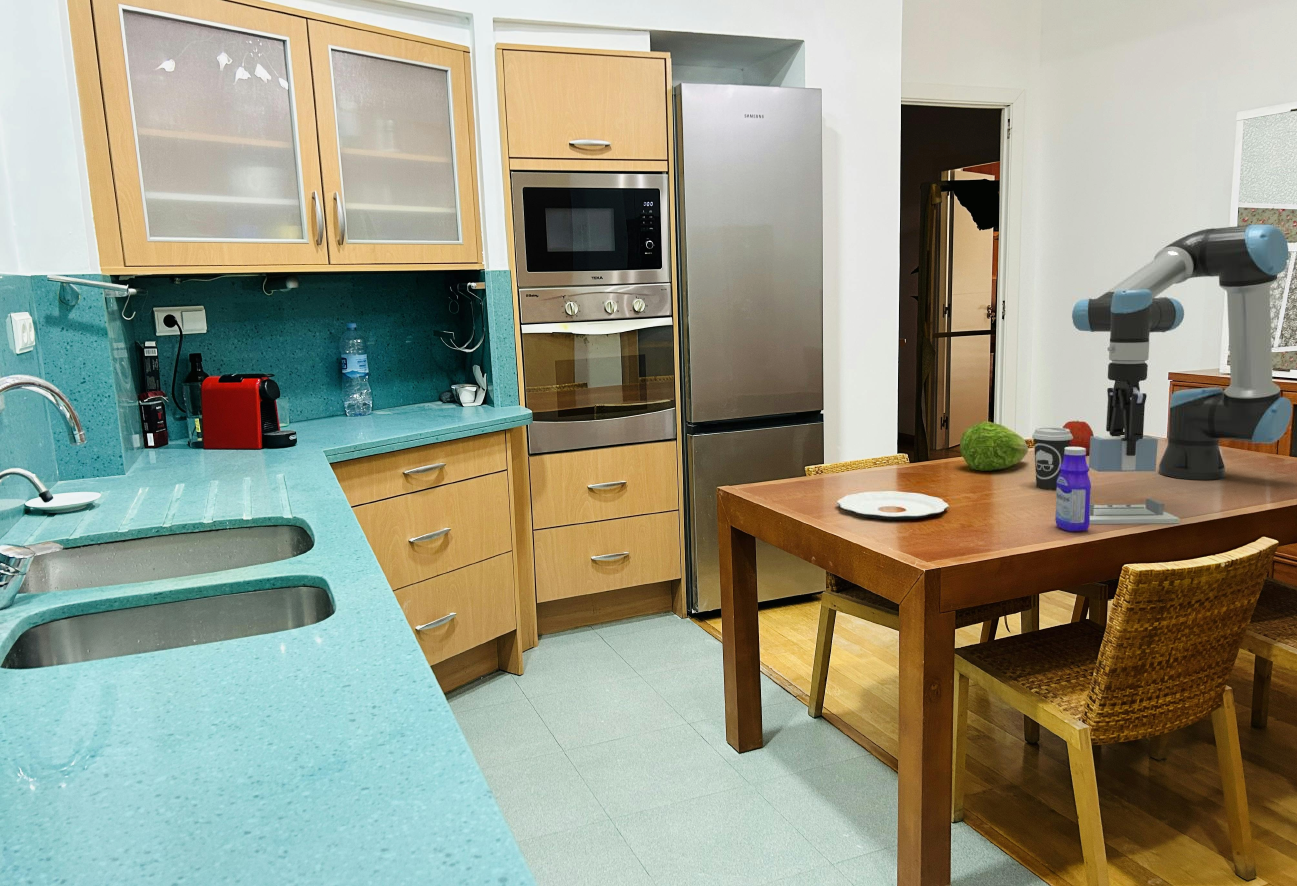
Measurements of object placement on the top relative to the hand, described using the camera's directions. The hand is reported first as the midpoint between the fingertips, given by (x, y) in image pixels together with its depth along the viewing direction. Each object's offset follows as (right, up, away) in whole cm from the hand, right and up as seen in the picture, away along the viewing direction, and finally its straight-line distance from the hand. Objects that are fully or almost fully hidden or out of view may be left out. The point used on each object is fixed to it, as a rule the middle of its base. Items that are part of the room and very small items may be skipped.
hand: (1122, 467), depth 193 cm
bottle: (-14, -13, -7) cm, 20 cm away
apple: (+27, +2, +77) cm, 81 cm away
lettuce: (-4, -2, +60) cm, 60 cm away
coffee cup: (-1, -6, +33) cm, 33 cm away
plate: (-47, -11, +15) cm, 50 cm away
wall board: (0, -11, +2) cm, 11 cm away
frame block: (0, 0, 0) cm, 0 cm away
